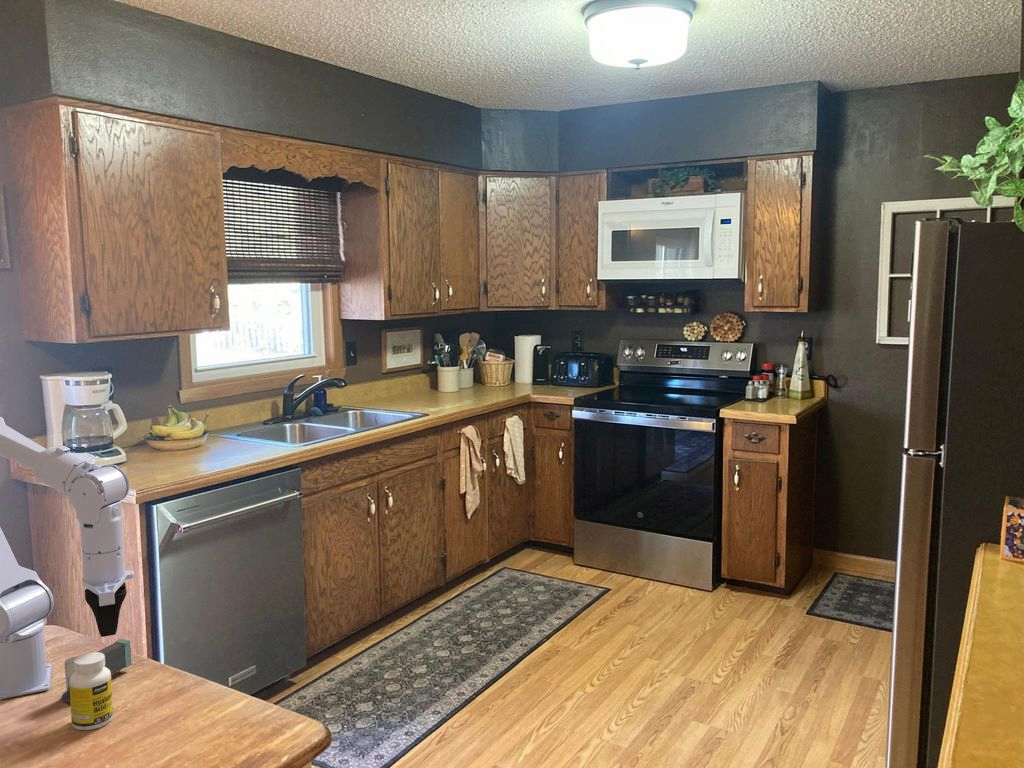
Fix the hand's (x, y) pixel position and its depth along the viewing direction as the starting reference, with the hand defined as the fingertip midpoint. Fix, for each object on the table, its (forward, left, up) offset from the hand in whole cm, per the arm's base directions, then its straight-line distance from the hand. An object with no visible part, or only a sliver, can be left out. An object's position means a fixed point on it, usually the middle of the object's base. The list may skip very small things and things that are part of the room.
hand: (108, 634), depth 128 cm
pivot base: (-3, -5, -10) cm, 12 cm away
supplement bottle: (+6, -3, -11) cm, 13 cm away
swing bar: (-6, -2, -9) cm, 11 cm away
